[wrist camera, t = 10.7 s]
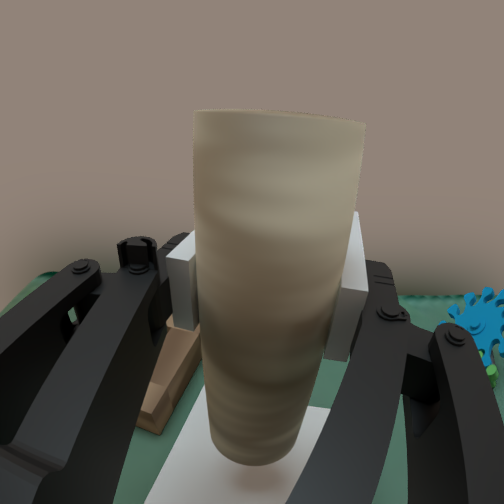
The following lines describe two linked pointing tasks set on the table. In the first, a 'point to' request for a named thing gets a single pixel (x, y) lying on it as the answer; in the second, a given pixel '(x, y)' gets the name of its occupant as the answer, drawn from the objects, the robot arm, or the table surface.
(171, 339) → the pocket block
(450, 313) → the gear
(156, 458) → the table surface
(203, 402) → the pad
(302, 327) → the dowel
